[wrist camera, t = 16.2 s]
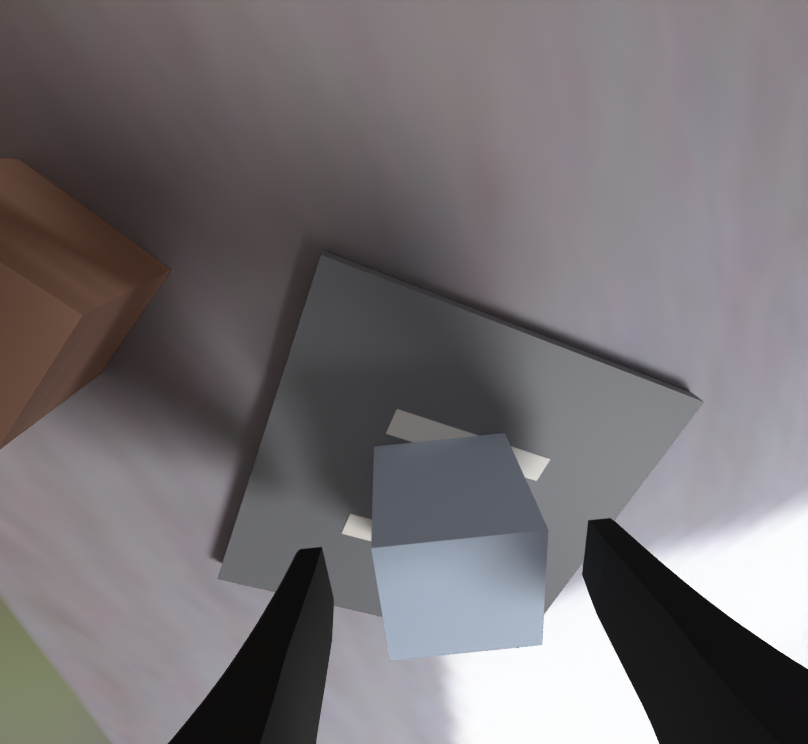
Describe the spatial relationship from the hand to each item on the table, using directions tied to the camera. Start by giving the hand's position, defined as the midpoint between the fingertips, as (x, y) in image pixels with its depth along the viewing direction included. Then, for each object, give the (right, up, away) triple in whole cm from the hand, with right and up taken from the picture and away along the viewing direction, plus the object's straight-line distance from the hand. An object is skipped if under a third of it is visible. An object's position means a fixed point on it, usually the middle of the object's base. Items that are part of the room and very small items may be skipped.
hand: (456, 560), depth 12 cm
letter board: (0, +1, +3) cm, 3 cm away
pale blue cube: (0, +1, +2) cm, 3 cm away
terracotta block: (-10, +8, 0) cm, 13 cm away
